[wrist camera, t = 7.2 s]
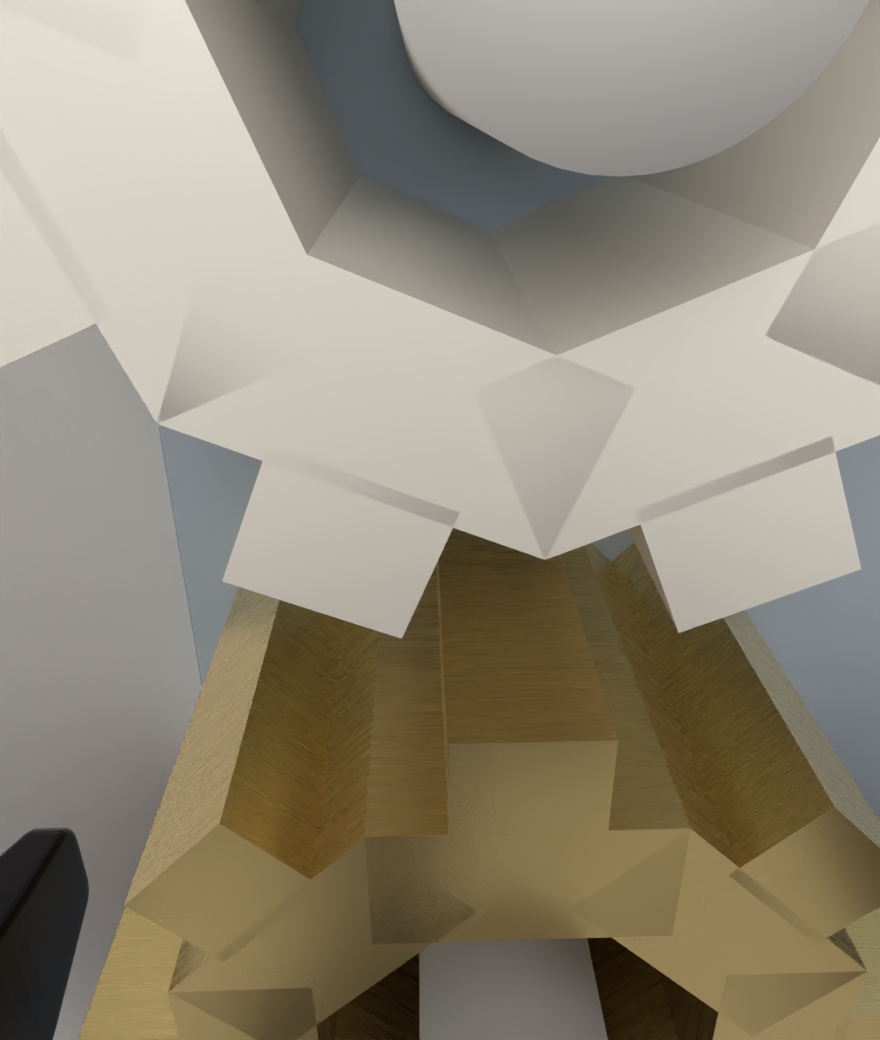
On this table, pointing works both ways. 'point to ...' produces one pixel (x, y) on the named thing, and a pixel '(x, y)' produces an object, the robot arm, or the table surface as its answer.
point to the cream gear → (449, 315)
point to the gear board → (509, 195)
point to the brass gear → (500, 819)
